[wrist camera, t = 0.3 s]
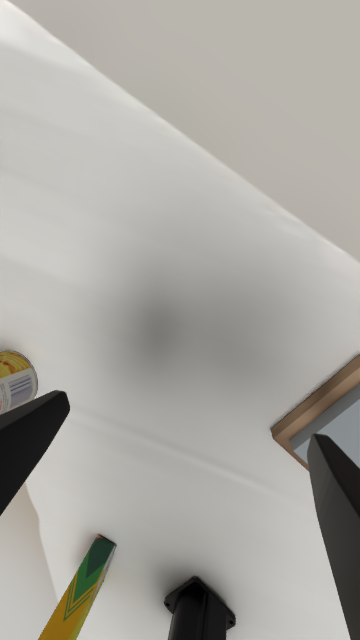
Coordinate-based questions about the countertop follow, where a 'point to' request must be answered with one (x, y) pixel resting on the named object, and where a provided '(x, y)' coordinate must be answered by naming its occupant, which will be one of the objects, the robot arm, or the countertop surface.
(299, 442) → the top brick
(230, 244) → the countertop surface
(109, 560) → the crayon box
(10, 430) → the robot arm
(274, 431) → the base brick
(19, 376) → the canned food
